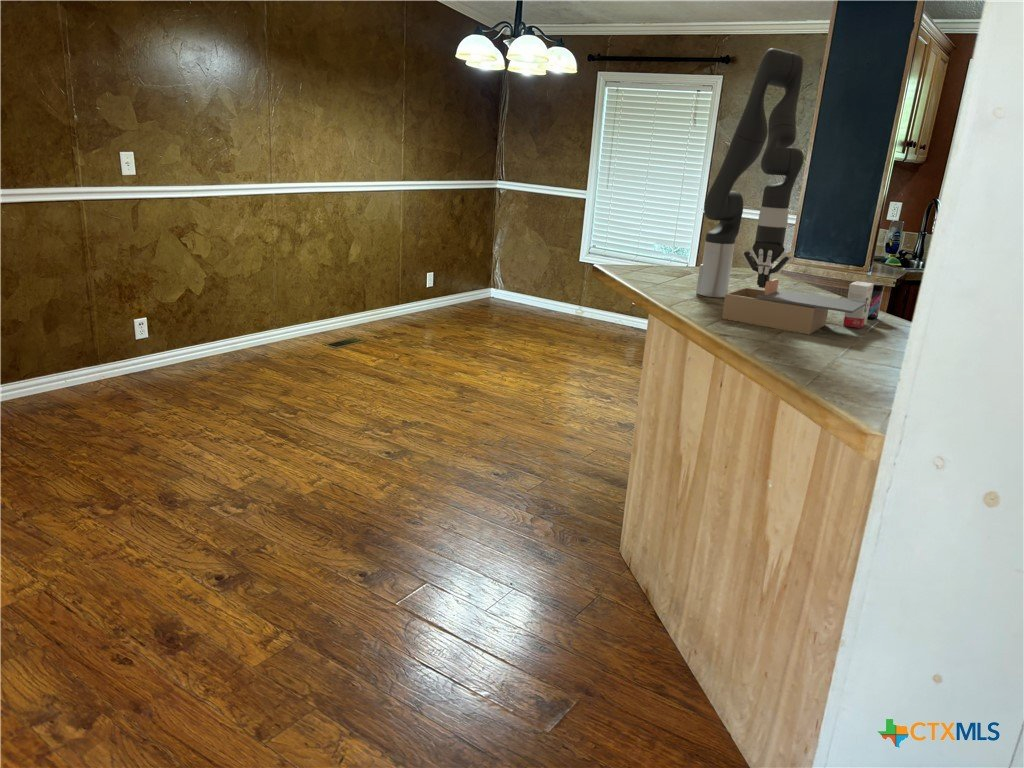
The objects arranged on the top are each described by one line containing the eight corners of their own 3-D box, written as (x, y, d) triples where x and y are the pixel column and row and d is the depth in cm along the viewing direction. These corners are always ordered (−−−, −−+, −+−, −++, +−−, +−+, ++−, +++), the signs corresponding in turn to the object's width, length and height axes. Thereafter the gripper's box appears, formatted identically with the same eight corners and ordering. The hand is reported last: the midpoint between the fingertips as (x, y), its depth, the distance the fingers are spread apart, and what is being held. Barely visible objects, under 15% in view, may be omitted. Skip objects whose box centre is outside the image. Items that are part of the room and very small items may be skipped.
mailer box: (721, 318, 206) (725, 294, 204) (741, 310, 218) (745, 287, 216) (809, 334, 193) (814, 308, 191) (825, 324, 205) (830, 300, 203)
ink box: (860, 329, 202) (868, 286, 199) (841, 325, 205) (849, 284, 202) (867, 324, 209) (875, 283, 206) (848, 321, 212) (856, 280, 208)
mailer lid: (756, 298, 199) (759, 283, 198) (775, 290, 211) (778, 276, 210) (852, 313, 185) (855, 297, 184) (866, 304, 198) (869, 289, 197)
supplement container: (854, 318, 216) (861, 283, 213) (851, 314, 222) (857, 280, 219) (879, 321, 214) (887, 285, 211) (875, 316, 220) (882, 282, 217)
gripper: (743, 222, 201) (734, 285, 206) (792, 227, 193) (781, 292, 199) (753, 221, 207) (744, 282, 212) (800, 226, 199) (790, 289, 204)
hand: (762, 287), depth 205 cm, fingers closed
